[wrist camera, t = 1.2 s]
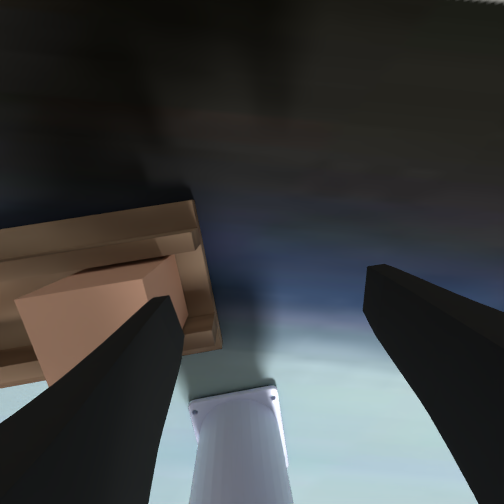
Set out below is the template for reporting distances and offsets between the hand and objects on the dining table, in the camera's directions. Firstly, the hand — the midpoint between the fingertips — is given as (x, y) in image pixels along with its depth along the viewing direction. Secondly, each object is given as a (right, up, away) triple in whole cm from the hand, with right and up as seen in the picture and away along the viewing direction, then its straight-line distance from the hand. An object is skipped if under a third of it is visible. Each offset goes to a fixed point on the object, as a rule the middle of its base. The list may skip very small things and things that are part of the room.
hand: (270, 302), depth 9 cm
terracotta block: (-9, -1, +9) cm, 13 cm away
